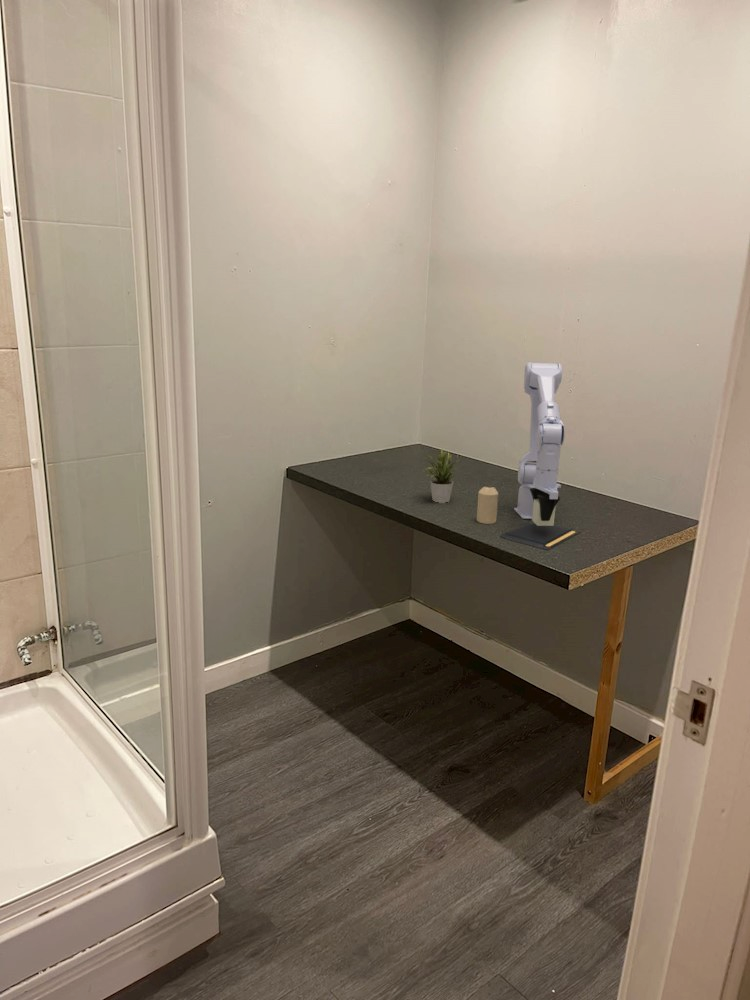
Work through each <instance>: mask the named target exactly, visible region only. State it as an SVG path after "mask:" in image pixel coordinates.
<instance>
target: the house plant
mask: <svg viewBox="0 0 750 1000" xmlns="http://www.w3.org/2000/svg"><path fill="white" fill-rule="evenodd" d="M423 453H425V454H427V455H426V456H427V457H429V458H426V457H424V459H425V461H427V462H429V463H430V464H431V466H432V467H428V466H426V465H422V466H423V467H425V469H423V470H422V472H426V471H427V472H429V473H427V475H426V477H428V476H431V477H430V479H431V480H430V481H429V482H430V490H431V492H430V493H431V498H432V500H433V501H435V502H439V503H438V504H446V503H445V502H448V503H449V502H450V499H451V494H452V491H453V485H454V481H453V480H451V479H452V478H455V477H456V478H458V476H457V475H453V472H455V471H456V470H457V468H455V469H453V468H454V466H455V464H456V463H458V462H459V459H457V460H456V461H454V462H453V463H451V462H452V454H450V452H448V450H445V451H444V450H443V449H441V450H440V453H438V454H437V461H435V460H434V459H433V457H432V456H431V454H429V453H428V452H424V451H423ZM430 458H431V459H430ZM433 477H434V479H432V478H433ZM432 500H431V501H432ZM433 501H432V502H433ZM435 502H434V503H435Z"/></svg>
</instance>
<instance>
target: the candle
mask: <svg viewBox="0 0 750 1000" xmlns="http://www.w3.org/2000/svg"><path fill="white" fill-rule="evenodd" d="M477 495H478V497H477V512H476V521H477V522H478V523H480V524H483V525H484V524H485V525H492V524H493V525H494V524H495V523H496V522H497V517H498V516H497V514H498V501H499V492H498V490H497V489H496V487H492V486H490V487H488V486H483V487H482V488H481V489H479V490H478V494H477Z"/></svg>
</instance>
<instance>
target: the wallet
mask: <svg viewBox="0 0 750 1000" xmlns="http://www.w3.org/2000/svg"><path fill="white" fill-rule="evenodd" d="M581 533H582V532H581V531H579V530H574V529H573V528H570V527H567V526H563V525H560V524H559V525H558V524H555V523H554V526H537V525H536V524H535V523H534V522H533V521H532V520H531V521H528V522H526V523H524V524H522V525H520V526H518V527H515V528H513V529H512V530H509V531H507V532H505V533H502V534H501V535H499V536H500V537H499V538H500V539H503V540H506V539H507V540H506V541H511V542H514V543H518V544H522V545H525V546H528V547H533V548H536V549H539V550H544V551H548V552H549V551H551V550H552V549H554V548H555V547H558V546H559V545H561V544H562V543H565V542H566V541H568V540H570V539H572V538H574V537H575V536H578V535H579V534H581Z"/></svg>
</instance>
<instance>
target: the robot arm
mask: <svg viewBox="0 0 750 1000" xmlns="http://www.w3.org/2000/svg"><path fill="white" fill-rule="evenodd" d="M524 368H525V369H524V375H523V376H524V377H523V378H524V379H523V381H524V382H523V389H524V393H525V394H527V395H528V396H529V397H530V404H531V407H530V426H529V427H530V428H529V451H528V452H526V454H524V455H523V456H521V457H520V459H519V461H518V468H517V469H518V470H517V482H518V483H519V485H520V487H519V488H518V494H517V495H518V497H517V505H516V506H517V507H514V508H513V510H514V511H515V512H516V513H517V514H518V515H519V516H520V518H521V519H523V520H532V515H533V505H534V499H539V503H540V513H541V520H542V521H549V520H550V518H551V515H552V512H553V510H554V507H555V506H556V507H557V504H558V503H559V502H560V499H561V497H560V496H559V491H558V489H561V487H562V485H561V484H560V483H558V476H559V475H558V474H559V466H560V456H561V446H563V444H564V441H565V435H566V433H565V431H566V430H565V425H564V423H563V420H561V413H560V406H559V404H558V403H557V402H556V401H555V394H557V392H558V389H559V387H560V385H561V382H562V379H563V366H562V364H561V363H560V362H558V363H548V362H547V363H546V362H530V361H528V362H527V363H526V364H525V366H524Z"/></svg>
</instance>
